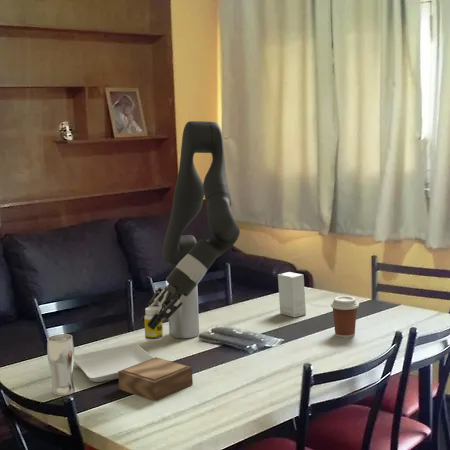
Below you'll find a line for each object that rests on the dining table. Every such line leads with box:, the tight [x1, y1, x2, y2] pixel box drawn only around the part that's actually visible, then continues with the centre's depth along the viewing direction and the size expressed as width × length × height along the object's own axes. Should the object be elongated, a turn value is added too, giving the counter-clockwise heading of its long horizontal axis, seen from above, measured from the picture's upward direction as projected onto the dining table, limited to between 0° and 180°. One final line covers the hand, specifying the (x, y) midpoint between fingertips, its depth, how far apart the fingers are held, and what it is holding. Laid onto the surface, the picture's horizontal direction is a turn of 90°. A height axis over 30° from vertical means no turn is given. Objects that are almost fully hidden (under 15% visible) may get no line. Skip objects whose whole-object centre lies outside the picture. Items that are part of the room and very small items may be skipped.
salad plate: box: [74, 343, 155, 383], centre depth 213 cm, size 21×21×3 cm
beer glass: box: [46, 333, 76, 397], centre depth 196 cm, size 7×7×15 cm
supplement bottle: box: [144, 306, 164, 342], centre depth 196 cm, size 5×5×8 cm
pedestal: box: [118, 357, 194, 402], centre depth 198 cm, size 14×14×5 cm
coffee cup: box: [330, 295, 360, 338], centre depth 238 cm, size 9×9×12 cm
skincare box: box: [277, 271, 307, 318], centre depth 264 cm, size 8×6×15 cm
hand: (146, 324), depth 195 cm, fingers closed on supplement bottle, 4 cm apart
